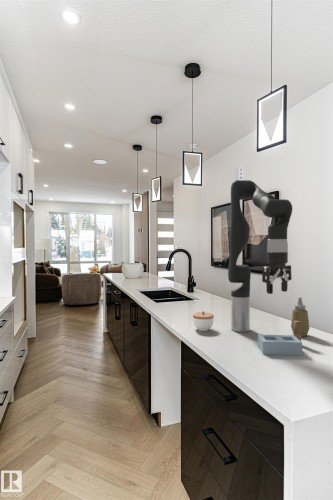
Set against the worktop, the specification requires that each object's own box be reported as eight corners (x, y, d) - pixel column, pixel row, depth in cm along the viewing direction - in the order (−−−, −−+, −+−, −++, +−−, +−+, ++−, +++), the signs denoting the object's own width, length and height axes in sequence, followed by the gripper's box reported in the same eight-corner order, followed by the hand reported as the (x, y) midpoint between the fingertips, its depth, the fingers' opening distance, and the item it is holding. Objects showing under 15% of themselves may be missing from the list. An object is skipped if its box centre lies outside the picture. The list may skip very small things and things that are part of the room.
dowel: (292, 343, 127) (292, 320, 127) (299, 343, 127) (299, 320, 126) (295, 345, 124) (295, 322, 124) (302, 345, 124) (302, 322, 123)
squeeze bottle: (299, 331, 144) (299, 295, 144) (313, 336, 136) (313, 298, 136) (287, 333, 141) (287, 296, 141) (300, 338, 133) (300, 299, 133)
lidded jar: (213, 333, 143) (213, 314, 143) (191, 331, 145) (191, 313, 145) (214, 327, 153) (214, 309, 153) (194, 326, 155) (193, 308, 155)
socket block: (257, 346, 123) (257, 334, 123) (294, 347, 122) (294, 335, 122) (262, 354, 114) (262, 341, 114) (302, 355, 113) (302, 342, 113)
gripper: (281, 250, 119) (280, 289, 119) (257, 251, 112) (256, 292, 112) (297, 250, 112) (297, 292, 113) (273, 251, 105) (272, 296, 106)
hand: (277, 292), depth 113 cm, fingers open, 8 cm apart
